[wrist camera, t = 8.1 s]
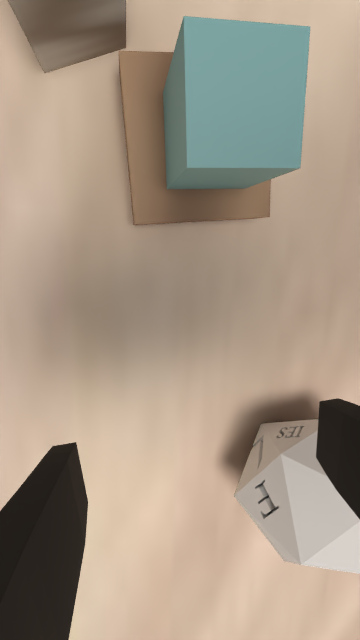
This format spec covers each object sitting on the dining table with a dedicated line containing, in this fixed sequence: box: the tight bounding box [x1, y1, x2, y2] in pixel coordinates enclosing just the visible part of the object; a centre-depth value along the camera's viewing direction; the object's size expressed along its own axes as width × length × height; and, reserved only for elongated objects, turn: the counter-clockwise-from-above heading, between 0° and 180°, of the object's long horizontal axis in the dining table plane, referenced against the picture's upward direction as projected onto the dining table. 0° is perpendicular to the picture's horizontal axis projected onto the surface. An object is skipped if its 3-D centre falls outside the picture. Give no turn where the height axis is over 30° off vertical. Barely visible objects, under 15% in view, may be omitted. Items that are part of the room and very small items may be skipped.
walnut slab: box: [119, 51, 271, 225], centre depth 16 cm, size 7×7×2 cm
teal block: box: [163, 16, 310, 189], centre depth 12 cm, size 4×4×5 cm
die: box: [234, 419, 360, 574], centre depth 19 cm, size 8×9×10 cm
